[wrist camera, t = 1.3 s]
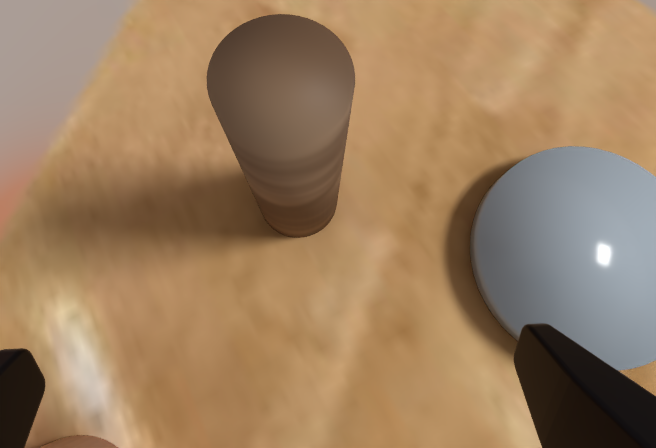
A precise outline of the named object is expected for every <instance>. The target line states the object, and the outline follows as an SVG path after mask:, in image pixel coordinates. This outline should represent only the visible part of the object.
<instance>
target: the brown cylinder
mask: <svg viewBox="0 0 656 448" xmlns="http://www.w3.org/2000/svg"><path fill="white" fill-rule="evenodd" d="M354 87H355V72H354V66H353V62H352V59H351V57H350V54H349V52H348V50H347V49H346V47H345V46H344V44H343V43H342V42H341V40H340V39H339V38H338V37H337V36H336V35H335V34H334V33H333V32H332V31H330V30H329V29H327V28H326V27H325V26H323V25H321V24H319V23H317V22H315V21H313V20H310V19H308V18H304V17H300V16H295V15H285V14H278V15H268V16H263V17H259V18H256V19H253V20H250V21H248V22H246V23H244V24H242V25H240V26H239V27H237V28H236V29H234V30H233V31H232V32H230V33H229V34H228V35H227V36H226V37H225V38H224V39H223V40H222V41H221V43H220V44H219V45H218V46H217V48H216V50H215V51H214V53H213V55H212V58H211V60H210V63H209V67H208V71H207V90H208V95H209V98H210V101H211V104H212V106H213V108H214V110H215V112H216V115H217V117H218V119H219V121H220V123H221V125H222V128H223V130H224V132H225V134H226V136H227V138H228V141H229V143H230V145H231V147H232V149H233V151H234V154H235V156H236V158H237V160H238V162H239V164H240V167H241V169H242V171H243V173H244V175H245V177H246V179H247V182H248V184H249V186H250V188H251V190H252V192H253V195H254V197H255V199H256V201H257V203H258V205H259V208H260V210H261V212H262V214H263V216H264V218H265V220H266V221H267V223H268V224H269V225H270V226H271V227H272V228H273V229H274V230H276V231H277V232H279V233H281V234H283V235H286V236H290V237H306V236H310V235H313V234H315V233H317V232H319V231H320V230H322V229H323V228H324V227H325V226H327V224H328V223H329V222H330V221H331V219H332V217H333V215H334V213H335V210H336V205H337V199H338V192H339V185H340V179H341V172H342V166H343V159H344V153H345V146H346V139H347V133H348V126H349V120H350V113H351V106H352V100H353V93H354Z"/></svg>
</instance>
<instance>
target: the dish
mask: <svg viewBox="0 0 656 448" xmlns="http://www.w3.org/2000/svg"><path fill="white" fill-rule="evenodd" d="M470 256H471V264H472V269H473V274H474V277H475V280H476V283H477V286H478V289H479V291H480V293H481V295H482V297H483V299H484V302H485V303H486V305H487V306H488V308H489V310H490V311H491V313H492V314H493V316H494V317H495V318H496V319H497V321H498V322H499V323H500V324H501V326H502V327H503V328H504V329H505V330H506V331H507V332H508V333H509V334H510V335H511V336H512V337H513V338H515V339H516V340H517V341H518V339H519V336H520V333H521V330H522V327H523V326H524V325H526V324H536V323H546V324H549V325H551V326H553V327H554V328H555V329H557V330H558V331H560V332H561V333H563V334H564V335H566V336H567V337H569V338H570V339H572V340H573V341H575V342H576V343H578V344H579V345H581V346H582V347H584V348H585V349H587V350H588V351H589V352H591V353H592V354H594V355H595V356H597V357H598V358H600V359H601V360H603V361H604V362H606V363H607V364H609V365H610V366H612V367H613V368H615V369H616V370H626V369H632V368H636V367H639V366H643V365H646V364H648V363H650V362H653V361H655V360H656V177H655V176H654V175H652V174H651V173H650V172H648V171H647V170H645V169H644V168H642V167H641V166H639V165H638V164H636V163H634V162H632V161H630V160H628V159H626V158H624V157H622V156H619V155H617V154H614V153H611V152H608V151H604V150H600V149H595V148H589V147H573V146H569V147H559V148H553V149H549V150H545V151H542V152H539V153H536V154H534V155H531V156H529V157H528V158H526V159H524V160H522V161H520V162H519V163H518V164H516V165H515V166H514V167H512V168H511V169H510V170H508V171H507V172H506V173H505V174H504V175H502V176H501V177H500V178H499V179H498V180H497V181H496V182H495V183H494V184H493V185H492V186H491V187H490V189H489V190H488V191H487V193H486V194H485V195H484V197H483V199H482V201H481V203H480V205H479V206H478V209H477V211H476V214H475V217H474V220H473V224H472V229H471V237H470Z"/></svg>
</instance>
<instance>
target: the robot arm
mask: <svg viewBox="0 0 656 448" xmlns="http://www.w3.org/2000/svg"><path fill="white" fill-rule="evenodd" d="M514 365H515V369H516V372H517V375H518V378H519V381H520V384H521V387H522V390H523V393H524V396H525V399H526V402H527V405H528V408H529V411H530V414H531V417H532V419H533V422H534V425H535V428H536V431H537V434H538V437H539V440H540V443H541V445H542V448H656V396H655V395H653V394H652V393H650V392H649V391H647V390H646V389H644V388H643V387H641V386H640V385H638V384H637V383H635V382H634V381H632V380H631V379H629V378H628V377H626V376H625V375H624V374H622V373H621V372H619V371H618V370H616V369H615V368H613V367H612V366H610V365H609V364H607V363H606V362H604V361H603V360H601V359H600V358H598V357H597V356H595V355H594V354H592V353H591V352H589V351H588V350H587V349H585V348H584V347H582V346H581V345H579V344H578V343H576V342H575V341H573V340H572V339H570V338H569V337H567V336H566V335H564V334H563V333H561V332H560V331H558V330H557V329H555V328H554V327H553V326H551V325H549V324H546V323H536V324H526V325H524V326H523V327H522V330H521V333H520V336H519V339H518V343H517V346H516V349H515V353H514ZM44 391H45V379H44V376H43V374H42V372H41V371H40V369H39V367H38V365H37V363H36V361H35V359H34V357H33V356H32V354H31V352H30V351H28V350H27V349H23V348H21V349H4V350H0V448H24V447H25V444H26V441H27V439H28V436H29V433H30V430H31V428H32V425H33V422H34V419H35V416H36V414H37V411H38V408H39V405H40V403H41V400H42V397H43V394H44Z"/></svg>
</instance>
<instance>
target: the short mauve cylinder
mask: <svg viewBox="0 0 656 448" xmlns="http://www.w3.org/2000/svg"><path fill="white" fill-rule="evenodd" d="M39 448H118V447H116V446H115V445H114V444H112V443H110V442H108V441H106V440H104V439H101V438H98V437H94V436H88V435H76V436H69V437H65V438H61V439H59V440H56V441H54V442H51V443H49V444H46V445H44V446H42V447H39Z"/></svg>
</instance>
